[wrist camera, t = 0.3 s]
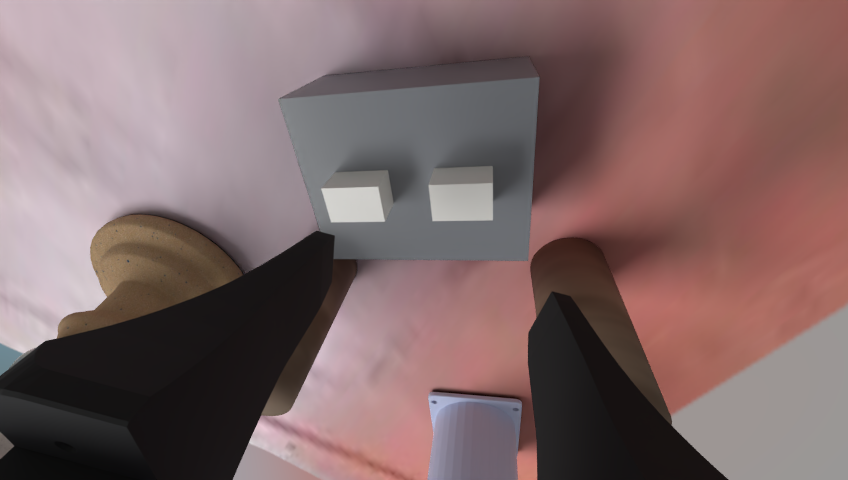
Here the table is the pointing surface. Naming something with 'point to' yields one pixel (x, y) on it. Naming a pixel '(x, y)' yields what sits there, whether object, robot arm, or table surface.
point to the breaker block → (420, 159)
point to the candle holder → (145, 273)
